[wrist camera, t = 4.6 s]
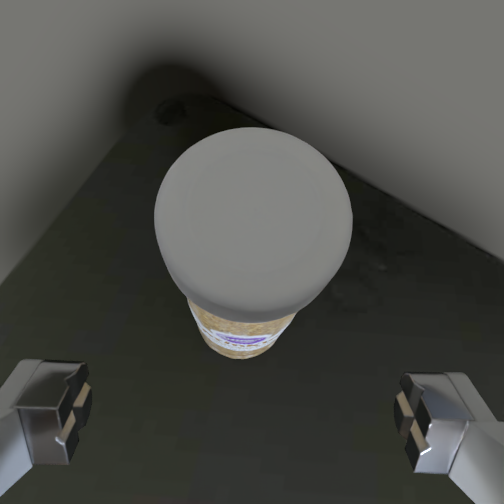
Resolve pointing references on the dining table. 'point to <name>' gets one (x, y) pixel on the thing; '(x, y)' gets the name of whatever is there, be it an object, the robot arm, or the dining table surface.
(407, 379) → the robot arm
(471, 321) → the dining table surface
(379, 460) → the dining table surface
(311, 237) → the sprinkles bottle
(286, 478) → the dining table surface
